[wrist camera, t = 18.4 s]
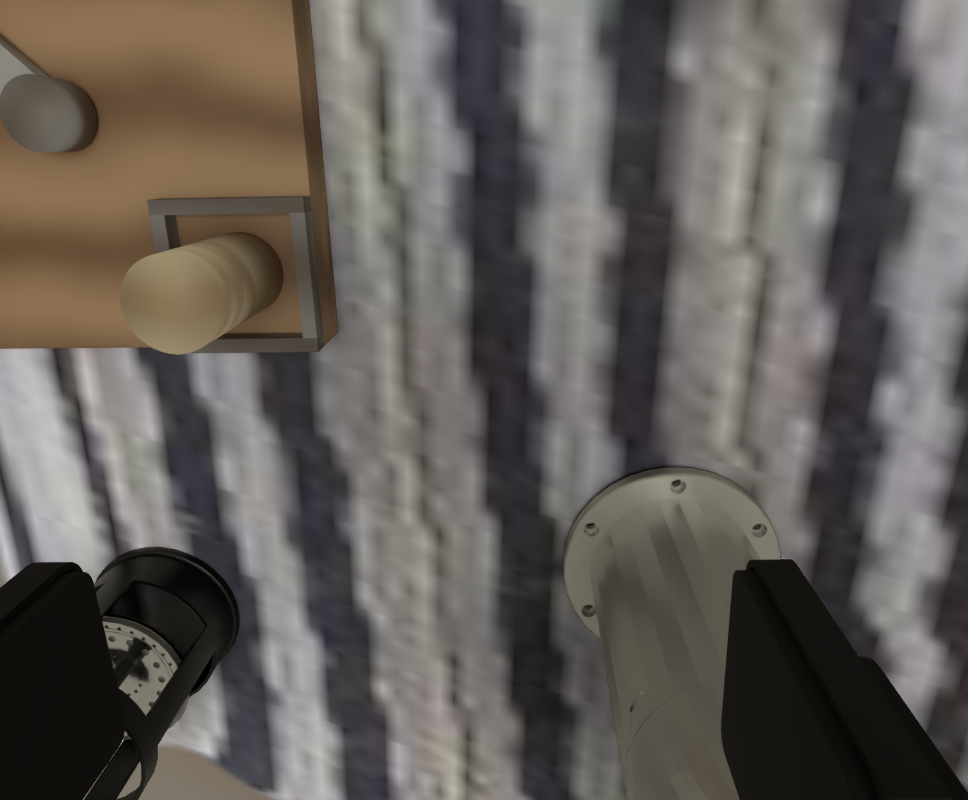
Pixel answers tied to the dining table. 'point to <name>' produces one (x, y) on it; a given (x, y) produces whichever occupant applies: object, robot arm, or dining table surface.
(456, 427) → the dining table surface
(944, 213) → the dining table surface
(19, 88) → the hinged leg
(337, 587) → the dining table surface
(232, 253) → the loose leg
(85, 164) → the wooden peg board
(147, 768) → the french press
